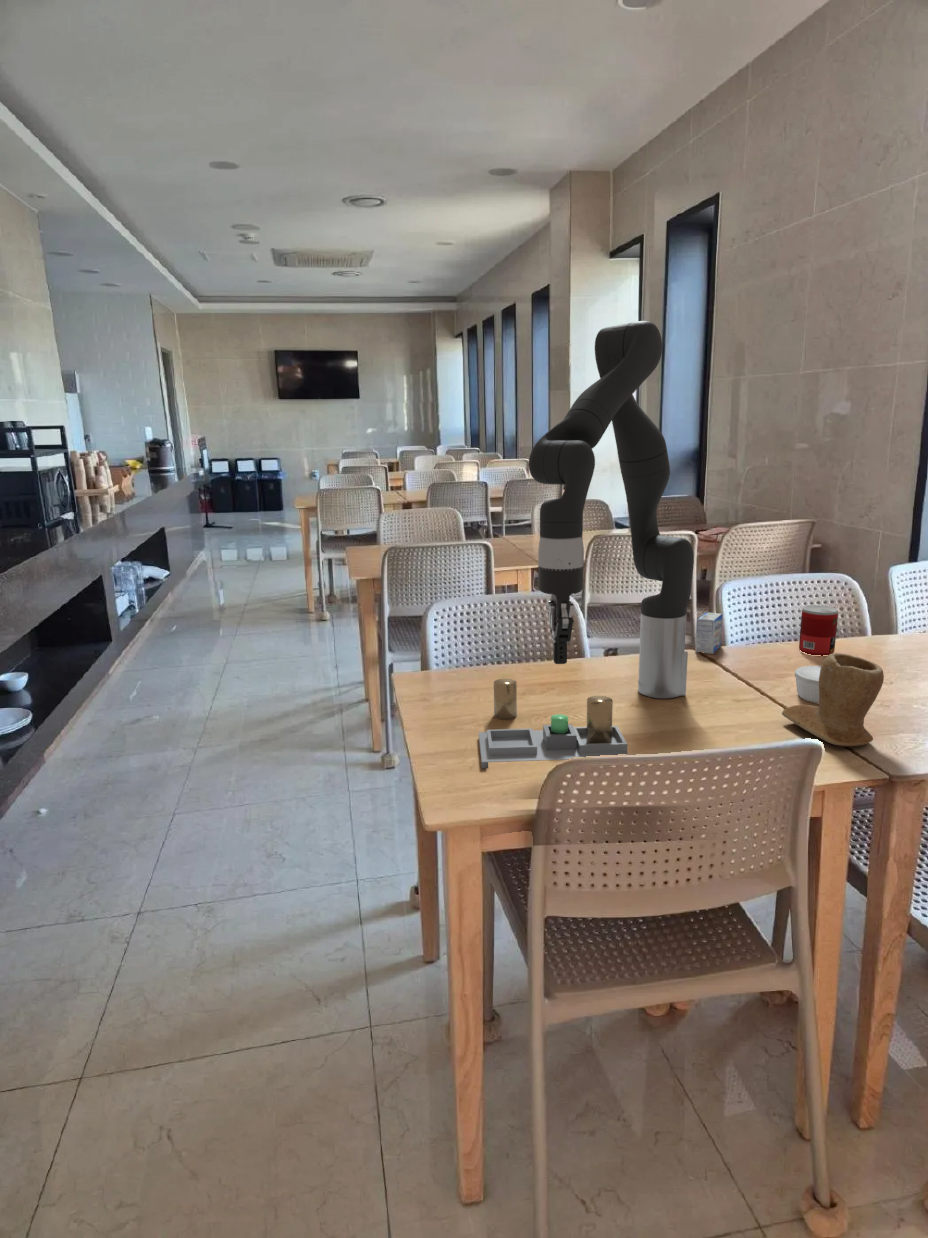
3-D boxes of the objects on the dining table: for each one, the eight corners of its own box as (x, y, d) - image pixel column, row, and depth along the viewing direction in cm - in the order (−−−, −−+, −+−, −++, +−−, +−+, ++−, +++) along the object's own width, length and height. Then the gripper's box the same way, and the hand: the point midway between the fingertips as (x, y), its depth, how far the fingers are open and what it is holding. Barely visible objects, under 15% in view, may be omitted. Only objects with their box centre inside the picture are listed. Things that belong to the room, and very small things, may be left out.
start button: (566, 726, 138) (566, 714, 138) (569, 733, 135) (569, 720, 135) (549, 727, 138) (550, 714, 138) (552, 733, 135) (552, 720, 135)
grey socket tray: (614, 734, 144) (614, 714, 143) (630, 764, 132) (630, 743, 131) (478, 738, 144) (478, 718, 143) (481, 768, 131) (481, 747, 130)
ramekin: (860, 696, 161) (862, 672, 159) (842, 711, 153) (844, 686, 151) (804, 685, 168) (806, 661, 167) (784, 699, 160) (786, 674, 159)
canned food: (837, 657, 186) (842, 612, 183) (802, 656, 188) (805, 612, 185) (829, 648, 193) (834, 605, 191) (795, 647, 195) (799, 604, 192)
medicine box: (712, 654, 191) (714, 620, 189) (694, 652, 193) (696, 618, 191) (721, 646, 197) (723, 613, 195) (703, 644, 199) (705, 611, 197)
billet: (515, 716, 154) (515, 678, 152) (517, 725, 150) (517, 685, 148) (493, 717, 154) (493, 679, 152) (495, 725, 150) (494, 686, 148)
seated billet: (608, 737, 140) (609, 695, 138) (613, 747, 135) (615, 704, 133) (584, 738, 140) (585, 696, 138) (588, 748, 135) (589, 704, 133)
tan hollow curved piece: (891, 747, 136) (901, 665, 132) (831, 754, 133) (839, 671, 130) (834, 716, 150) (841, 641, 147) (779, 722, 148) (785, 646, 144)
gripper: (590, 569, 123) (588, 674, 127) (576, 556, 136) (575, 651, 140) (543, 571, 123) (542, 675, 127) (534, 557, 136) (534, 652, 140)
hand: (559, 662), depth 134 cm, fingers closed
